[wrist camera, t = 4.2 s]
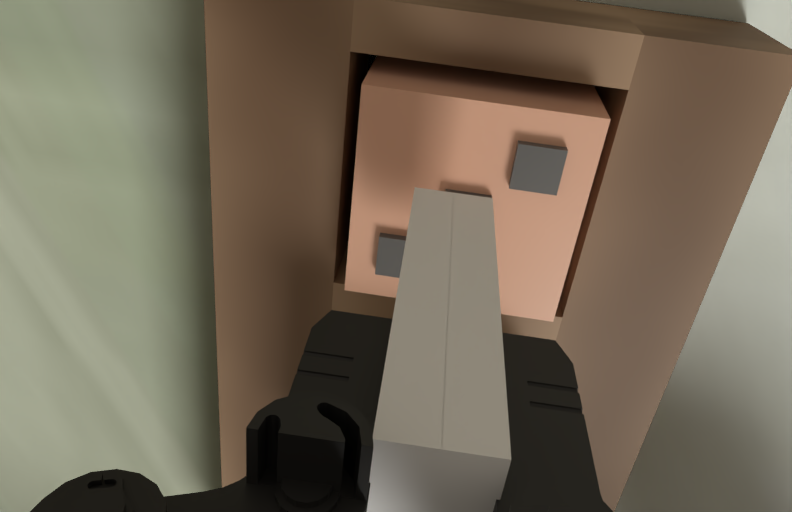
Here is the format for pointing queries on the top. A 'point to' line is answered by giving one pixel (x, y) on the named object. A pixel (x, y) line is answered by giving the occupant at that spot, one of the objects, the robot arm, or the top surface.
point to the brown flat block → (604, 214)
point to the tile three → (475, 170)
